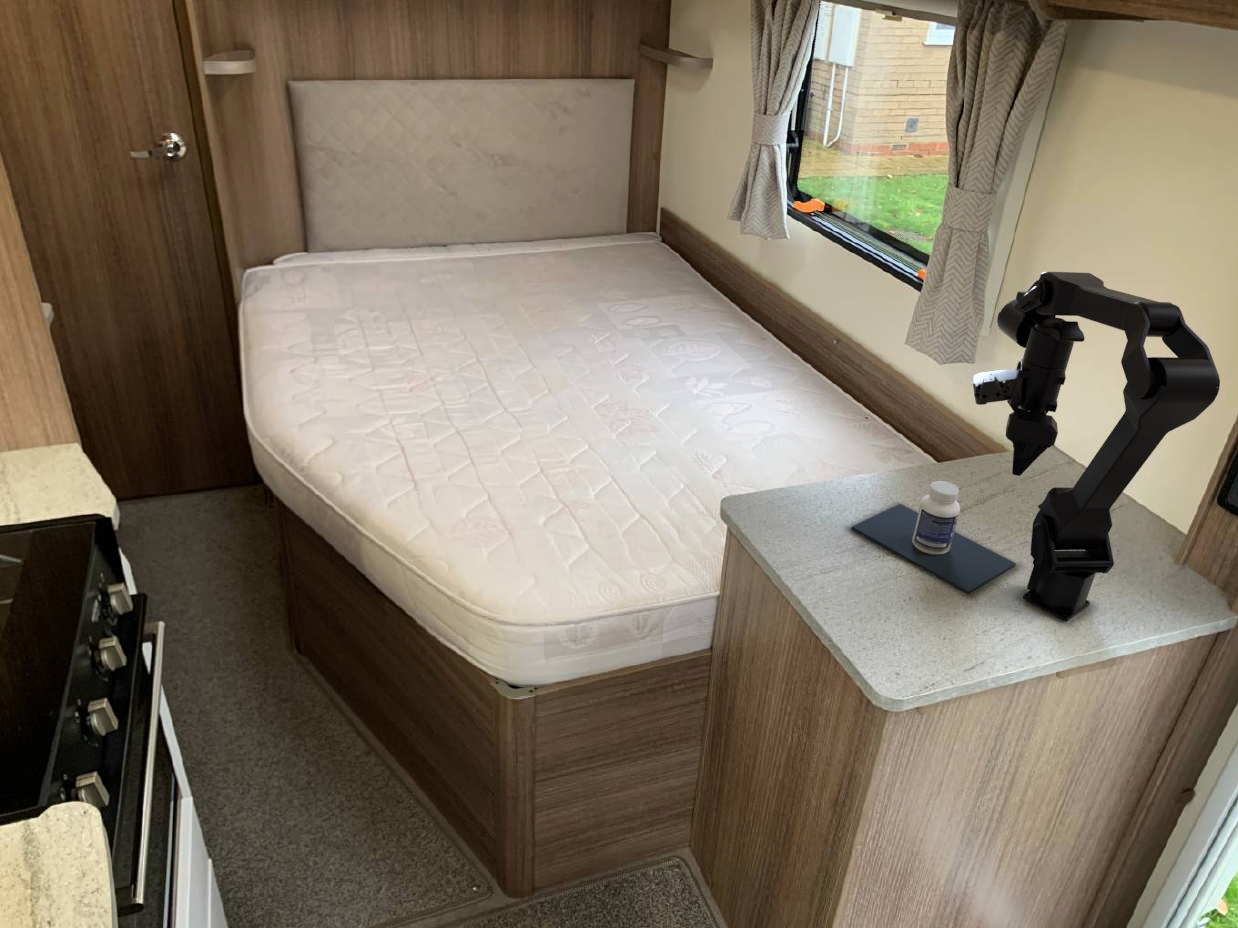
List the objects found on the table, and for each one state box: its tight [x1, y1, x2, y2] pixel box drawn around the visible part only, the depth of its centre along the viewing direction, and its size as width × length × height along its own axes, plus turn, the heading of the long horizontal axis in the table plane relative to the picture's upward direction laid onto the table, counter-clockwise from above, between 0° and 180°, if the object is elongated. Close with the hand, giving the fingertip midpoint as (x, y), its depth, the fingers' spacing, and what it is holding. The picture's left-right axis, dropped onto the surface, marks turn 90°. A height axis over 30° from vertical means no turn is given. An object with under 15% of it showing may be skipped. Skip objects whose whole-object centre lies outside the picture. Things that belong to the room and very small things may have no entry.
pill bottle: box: [912, 480, 961, 555], centre depth 136 cm, size 5×5×10 cm
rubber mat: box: [851, 503, 1017, 595], centre depth 139 cm, size 20×12×1 cm, turn 39°
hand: (1016, 461), depth 139 cm, fingers open, 9 cm apart
